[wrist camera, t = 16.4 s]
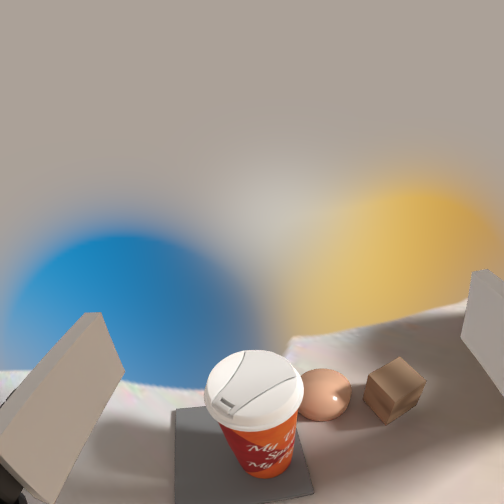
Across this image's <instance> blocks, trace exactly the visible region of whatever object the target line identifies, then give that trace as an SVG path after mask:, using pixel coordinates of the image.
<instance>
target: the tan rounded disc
mask: <svg viewBox="0 0 504 504" xmlns="http://www.w3.org/2000/svg"><path fill="white" fill-rule="evenodd" d="M300 377H301V379H302V382H303V387H304V394H303V399H302V402H301V404H300V406H299V408H298V412H299V413H300V414H301V415H303V416H304V417H306V418H308V419H311V420H314V421H329V420H333V419H335V418H337V417H339V416H340V415H341V414H343V412H344V411H345V410H346V409H347V407H348V404H349V401H350V397H351V393H352V388H351V385H350V382H349V381H348V379H347V378H346V377H345V376H343V375H342V374H341V373H339V372H337V371H334V370H330V369H314V370H311V371H308V372H306V373H304V374H303V375H301V376H300Z"/></svg>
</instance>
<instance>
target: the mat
mask: <svg viewBox="0 0 504 504" xmlns="http://www.w3.org/2000/svg"><path fill="white" fill-rule="evenodd" d="M311 494H314V490H313V487H312V483H311V479H310V476H309V472H308V468H307V465H306V461H305V457H304V454H303V450H302V446H301V443H300V439H299V436H298V432H297V428H296V432H295V441H294V448H293V455H292V459H291V463H290V465H289V467H288V468H287V469H286V470H285V471H284V472H283V473H282V474H280V475H278V476H276V477H273V478H268V479H261V478H256V477H253V476H251V475H250V474H248V473H247V472H246V471H245V470H244V469H243V468H242V466H241V465H240V463H239V462H238V460H237V458H236V456H235V454H234V452H233V451H232V449H231V447H230V446H229V444H228V442H227V440H226V438H225V436H224V433H223V431H222V429H221V427H220V425H219V423H218V421H216V420H215V419H214V418H213V417H212V416H211V414H210V413H209V411H208V409H207V408H206V406H202V407H192V408H180V409H176V431H175V504H263V503H270V502H276V501H282V500H287V499H292V498H297V497H302V496H307V495H311Z"/></svg>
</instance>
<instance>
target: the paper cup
mask: <svg viewBox="0 0 504 504" xmlns="http://www.w3.org/2000/svg"><path fill="white" fill-rule="evenodd" d="M303 394H304V387H303V382H302V379H301V377H300V375H299V373H298V372H297V371H296V370H295V369H294V367H293V366H292V364H291V363H290V362H289V361H288V360H287V359H286V358H284V357H282V356H280V355H278V354H275V353H273V352H269V351H263V350H246V351H241V352H237V353H234V354H232V355H230V356H228V357H226V358H224V359H223V360H222V361H220V362H219V363H218V364H217V365H216V366H215V367H214V369H213V370H212V371H211V373H210V375H209V377H208V380H207V384H206V387H205V392H204V401H205V405H206V408H207V409H208V411H209V413H210V414H211V416H212V417H213V418H214V419H215V420H216V421H218V423H219V425H220V427H221V429H222V431H223V433H224V436H225V438H226V440H227V442H228V444H229V446H230V447H231V449H232V451H233V452H234V454H235V456H236V458H237V460H238V462H239V463H240V465H241V466H242V468H243V469H244V470H245V471H246V472H247V473H248V474H250V475H251V476H253V477H256V478H261V479H268V478H273V477H276V476H278V475H280V474H282V473H283V472H284V471H285V470H286V469H287V468H288V467H289V465H290V463H291V459H292V455H293V448H294V441H295V432H296V423H297V414H298V408H299V406H300V404H301V402H302V399H303Z"/></svg>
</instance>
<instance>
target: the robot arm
mask: <svg viewBox="0 0 504 504" xmlns="http://www.w3.org/2000/svg"><path fill="white" fill-rule="evenodd" d="M460 338H461V339H462V341H463V342H464V343H465V344H466V346H467V347H468V348H469V350H470V351H471V352H472V354H473V355H474V356H475V358H476V359H477V360H478V362H479V363H480V364H481V366H482V367H483V368H484V370H485V371H486V373H487V374H488V375H489V377H490V378H491V380H492V381H493V382H494V384H495V385H496V387H497V388H498V390H499V391H500V393H501V394H502V396H503V397H504V281H503V280H501V279H500V278H499V277H498V276H496V275H495V274H493V273H492V272H491V271H490V270H488V269H485V270H480V271H474V272H472V275H471V283H470V289H469V296H468V301H467V307H466V312H465V318H464V323H463V327H462V332H461V336H460ZM124 373H125V370H124V368H123V366H122V363H121V361H120V359H119V356H118V354H117V352H116V349H115V347H114V344H113V342H112V340H111V337H110V335H109V332H108V330H107V327H106V324H105V322H104V319H103V316H102V314H101V312H96V313H84V314H83V316H82V317H81V318H80V319H79V320H78V321H77V322H76V323H75V324H74V325H73V326H72V327H71V328H70V329H69V330H68V332H66V333H65V335H64V336H63V337H62V338H61V339H60V340H59V341H58V342H57V343H56V344H55V345H54V347H53V348H52V349H51V350H50V351H49V352H48V353H47V354H46V355H45V356H44V358H43V359H42V360H41V361H40V362H39V363H38V364H37V366H36V367H35V368H34V369H33V370H32V371H31V372H30V374H29V375H28V376H27V377H26V378H25V379H24V381H23V382H22V383H21V384H20V385H19V386H18V387H17V388H16V389H15V390H14V391H13V392H12V393H11V394H10V395H9V397H8V398H7V399H6V402H4V403H3V404H2V405H1V406H0V504H27V501H26V498H25V496H24V495H23V494H22V493H21V491H22V489H23V488H25V489H26V490H27V491H28V492H29V493H30V494H31V495H32V496H33V497H35V498H36V499H38V500H40V501H42V502H44V503H47V504H54V503H55V501H56V499H57V497H58V495H59V493H60V491H61V489H62V487H63V485H64V483H65V481H66V479H67V477H68V475H69V473H70V471H71V469H72V467H73V466H74V464H75V462H76V460H77V458H78V456H79V454H80V452H81V450H82V448H83V447H84V445H85V443H86V441H87V439H88V437H89V435H90V433H91V432H92V430H93V428H94V426H95V424H96V422H97V421H98V419H99V417H100V415H101V413H102V412H103V410H104V408H105V406H106V404H107V403H108V401H109V399H110V397H111V396H112V394H113V392H114V390H115V389H116V387H117V385H118V383H119V382H120V380H121V378H122V376H123V375H124Z"/></svg>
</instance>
